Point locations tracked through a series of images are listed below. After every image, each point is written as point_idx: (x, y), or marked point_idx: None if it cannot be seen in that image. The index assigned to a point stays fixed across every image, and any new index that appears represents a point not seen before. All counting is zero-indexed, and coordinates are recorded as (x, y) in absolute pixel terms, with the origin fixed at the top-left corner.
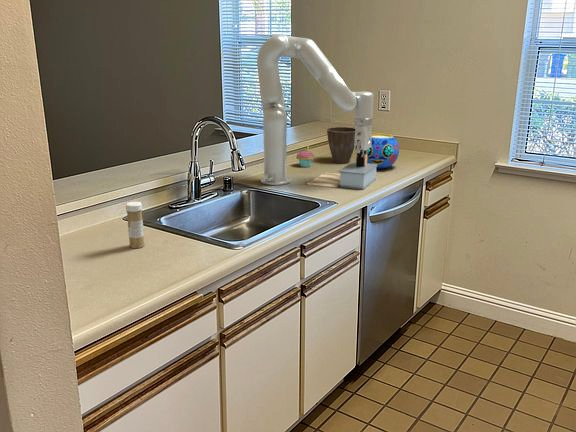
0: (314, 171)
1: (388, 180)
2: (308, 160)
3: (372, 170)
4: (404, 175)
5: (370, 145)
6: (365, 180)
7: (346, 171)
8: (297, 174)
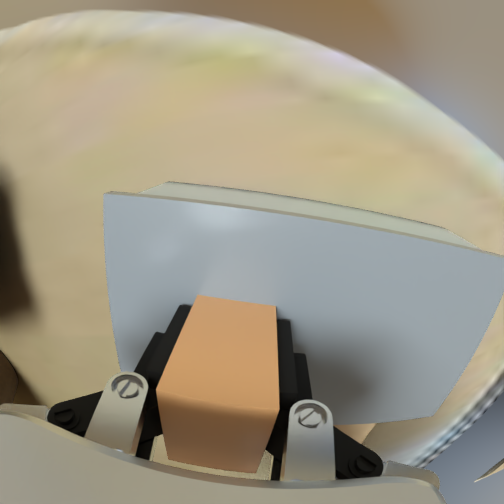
0: None
1: (167, 92)
2: None
3: None
4: (41, 57)
5: (37, 463)
6: (442, 236)
7: (452, 381)
8: (217, 474)
